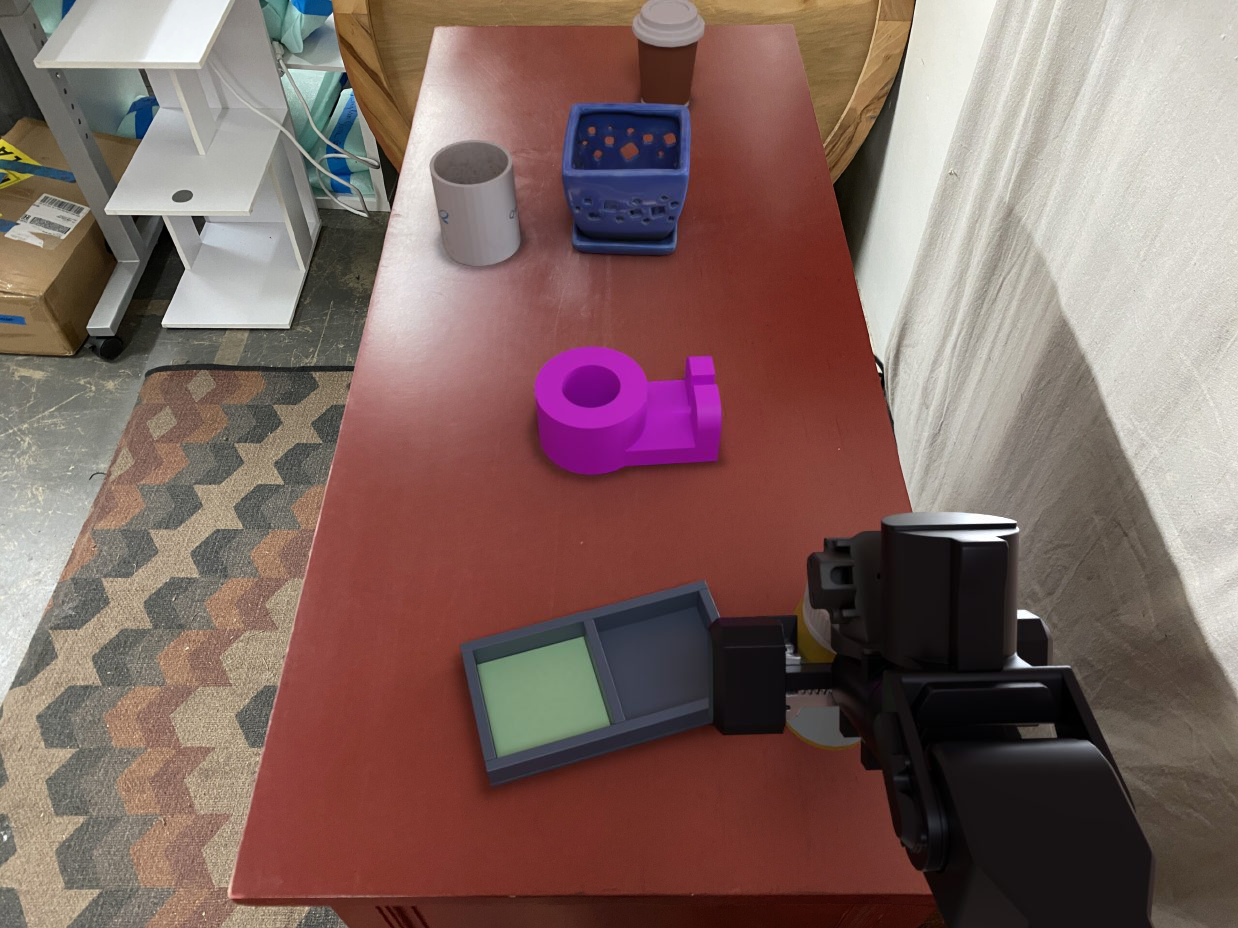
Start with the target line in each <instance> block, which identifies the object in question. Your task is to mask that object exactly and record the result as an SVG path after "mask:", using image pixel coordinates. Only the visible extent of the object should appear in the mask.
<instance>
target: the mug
mask: <svg viewBox="0 0 1238 928" xmlns="http://www.w3.org/2000/svg"><path fill="white" fill-rule="evenodd" d="M428 167H429V172H430V177H431V183H432V189H433V193H434V199H435V205H436V210H437V211H436V212H437V217H438V221H439V226H440V232H441V238H442V243H443V248H444V251H445V253H446V254H447V255H448V256H449V258H450V259H452V260H453V261H455V262H456V263H460V264H463V265H466V266H473V267H486V266H493V265H495V264H499V263H501V262H504V261H506V260H508V259H509V258H511V257H512V256H513V255H514V254H515V253H516V252H517V251H518V250H519V247H520V245H521V239H522V237H521V230H520V221H519V220H520V219H519V209H518V199H517V190H516V180H515V171H514V160H513V157H512V154H511V153H510V151H509V150H508V149H507V148H506V147H504V146H503V145H500V144H499V143H496V142H493V141H489V140H482V139H469V140H461V141H456V142H453V143H450V144H447V145H445V146H444V147H442V148H440V149H439V150H437V151H436V152H435V153H434V154H433V155H432V157H431V158H430V161H429V166H428Z"/></svg>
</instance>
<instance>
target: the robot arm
mask: <svg viewBox="0 0 1238 928" xmlns="http://www.w3.org/2000/svg"><path fill="white" fill-rule="evenodd" d="M822 545H823V546H822V547H823V551H812V552H811V553H810V554H809V555H808V556H807V558H806V576H807V577H806V578H807V580H808V590H809V602H810V605H811V607H812V608H813V609H814V610H817V609H824V610H826V611H827V612H828V613H829V618H830V623H831V648H832V649H833V650H834V651H835V652H836V653H837V654H836V656H835V658H834V660H833V662H828V663H801V657H800V655H799V654H798V616H797V615H794V614H784V615H783V614H782V615H781V614H780V615H756V616H728V617H727V616H726V617H724V616H723V617H721V616H720V618H716V620H715V621H714V622H713V623H712V624H711V625H710V626H709V627H708V701H709V717H710V720H711V725H712V726H713V727H714V729H716V730H717V731H718V733H720V735H722V736H753V735H754V736H755V735H783V734H784V731H785V729H786V727H787V725H786V720H789V719H793V718H795V717H797V716H798V713H799V711H800V710H801V709H802V708H804V707H839V731H840V732H841V734H842V735H843V737H844V738H853V737H861V738H862V739H863V740H862V739H861V743H860V764H861V765H862V767H863V768H864V770H865V771H881V773H882V777H883V783H884V787H885V793H886V799H887V803H888V808H889V813H890V817H891V823H892V827H893V831H894V834H895V836H896V837H897V838H898V840H899V844H900V846H901V848H904V849H905V852H906V855H907V858H908V859H909V862H910V864H911V865H912V867H913V868H914V870H916V872H917V871H918V872H922V874H923V877H924V878H925V882H926V883H927V886H928V888H929V890H930V892H931V894H932V897H933V900H934V901H935V903H936V905H937V909H938V910H939V913H940V915H941V917H942V920H943V922H944V925H945V926H946V928H1156V926H1155V925H1154V922H1153V920H1152V912H1153V903H1154V902H1153V901H1154V890H1155V879H1156V868H1157V867H1156V866H1157V856H1156V853H1155V849H1154V848H1153V846H1152V844H1151V842H1150V840H1149V838H1148V835H1147V833H1146V832H1145V830H1144V828H1143V825H1142V823H1141V821H1140V819H1139V817H1138V815H1137V810H1136V806H1135V803H1134V800H1133V798H1132V796H1131V792H1130V790H1129V788H1128V786H1127V784H1126V782H1125V780H1124V776H1123V775H1122V773H1121V771H1120V769H1119V767H1118V765H1117V762H1116V760H1115V758H1114V756H1113V754H1112V752H1111V750H1110V747H1109V745H1108V743H1107V741H1106V738H1105V737H1104V735H1103V732H1102V730H1101V728H1100V725H1099V724H1098V722H1097V719H1096V718H1095V715H1094V713H1093V711H1092V709H1091V706H1090V704H1089V702H1088V700H1087V698H1086V696H1085V694H1084V692H1083V690H1082V687H1081V685H1080V683H1079V680H1078V679H1077V676H1076V675H1075V673H1074V670H1073V668H1072V666H1070V665H1053V662H1054V661H1053V658H1054V639H1053V635H1052V633H1051V631H1050V628H1049V625H1047V623H1045V621H1044V620H1043V619H1042V618H1041V617H1039V616H1037V615H1035V614H1033V613H1032V612H1030V611H1028V610H1026V609H1018V603H1019V602H1018V601H1019V565H1020V564H1019V563H1020V562H1019V561H1020V560H1019V559H1020V528H1019V527H1018V522H1017V521H1016V520H1014V519H1011V518H1006V517H1002V516H996V515H991V514H990V515H989V514H981V513H972V512H959V511H957V512H955V511H917V512H903V513H895V514H890V515H886V516H883V517H882V518H881V519H880V530H863V531H860V532H858V533H856V534H855V535H854V536H841V537H840V536H839V537H836V536H835V537H834V536H833V537H824V539H823V544H822ZM822 689H825V692H823V690H822ZM829 689H831V692H830V690H829ZM801 690H804V692H803V693H802V691H801ZM808 690H811V692H810V693H809V691H808ZM815 690H818V692H817V693H816V691H815ZM1040 725H1053V728H1054V730H1055V734H1056V735H1055V736H1056V737H1026V738H1025V737H1023V736H1022V734H1021V732H1020V730H1019V729H1018V728H1039V726H1040Z"/></svg>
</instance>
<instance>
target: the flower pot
mask: <svg viewBox="0 0 1238 928" xmlns="http://www.w3.org/2000/svg"><path fill="white" fill-rule="evenodd" d="M590 128H594V130H595V131H594V132H593V133H592V132H589V129H590ZM691 128H692V124H691V114H690V110H689V107H688V106H687V107H686V106H684V105H674V104H650V103H642V102H575V103H573V104H571V106H570V110H569V114H568V118H567V123H566V128H565V133H564V139H563V147H562V157H561V159H562V160H561V183H562V188H563V193H564V197H565V201H566V204H567V207H568V210H569V212H570V214H571V217H572V219H573V225H572V236H571V242H572V243H571V244H572V246H573V248H575V249H576V250H577V251H579V252H582V253H586V254H588V253H589V254H613V255H641V256H665V255H668V254H671V253H673V252H674V251H675V250H676V248H677V244H678V222H679V221H678V220H679V219H680V217H681V214H682V211H683V207H684V205H685V201H686V197H687V193H688V186H689V182H690V181H689V180H690V171H691V168H690V167H691V141H692V139H691V138H692V135H691V134H692V133H691V132H692V131H691V130H692V129H691ZM630 129H632V130H633V131H632V132H629V131H628V130H630ZM670 134H672V135H673V136H674V139H675V141H673V142H672V143H668V142H667V141H666V139H665V136H668V135H670ZM647 135H648V136H649V135H651V136H652V140H650V141H645V140H644V137H645V136H647ZM608 137H609V138H613V142H612V143H607V142H606V138H608ZM584 142H586V143H585V144H583V143H584ZM629 144H633V145H634V146H635V148H636V149H637V151H638V153H636V154H634V155H633V156H631V157H630V158H626V156H625V154H623V152H622V149H623V148H624V147H626V146H628V145H629ZM597 151H599V152H601V154H600V156H599V157H596V156H595V153H596V152H597ZM659 153H662V154H659Z"/></svg>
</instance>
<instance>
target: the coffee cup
mask: <svg viewBox="0 0 1238 928" xmlns="http://www.w3.org/2000/svg"><path fill="white" fill-rule="evenodd" d="M698 11H699V10H698V8H697V6H696V5H695V4H694V3H693V2H691V1H690V0H647V1H646V2H645V3H644V4H643V5H642V6H641V8H640V12H639V13H638V14H637V15H635V16H634V17H633V20H632V23H631V24H632V25H631V31H632V33H633V34H634V37H636V39H637V52H638V67H639V68H638V69H639V83H640V84H639V85H640V103H650V104H674V105H684V106H686V107H687V108H688V106H689V105H690V98H691V97H690V96H691V90H692V83H693V77H694V70H695V64H696V63H695V62H696V56H697V49H698V43H699V40H701V38H703V37H704V35H705V30H706V22H705V20H704V19H703V18H702V16H701V15H700V14H699V13H698Z"/></svg>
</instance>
